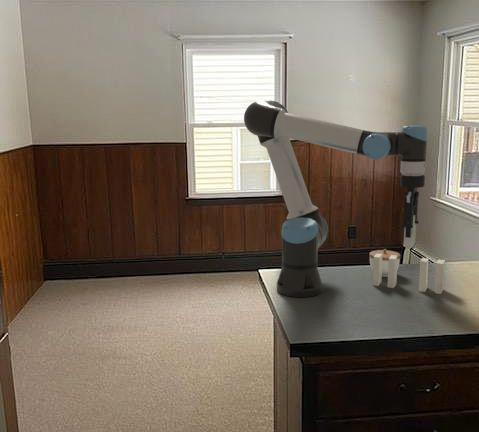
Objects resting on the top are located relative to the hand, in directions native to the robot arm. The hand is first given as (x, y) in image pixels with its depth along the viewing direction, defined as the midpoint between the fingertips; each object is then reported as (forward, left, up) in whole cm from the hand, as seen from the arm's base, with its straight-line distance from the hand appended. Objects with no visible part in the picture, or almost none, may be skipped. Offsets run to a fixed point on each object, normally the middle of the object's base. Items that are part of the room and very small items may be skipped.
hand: (409, 244), depth 172 cm
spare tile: (0, 0, 0) cm, 0 cm away
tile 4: (+5, 0, -15) cm, 16 cm away
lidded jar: (-10, +12, -15) cm, 22 cm away
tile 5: (+10, 0, -15) cm, 18 cm away
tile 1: (-10, 0, -15) cm, 18 cm away
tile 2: (-5, 0, -15) cm, 16 cm away
